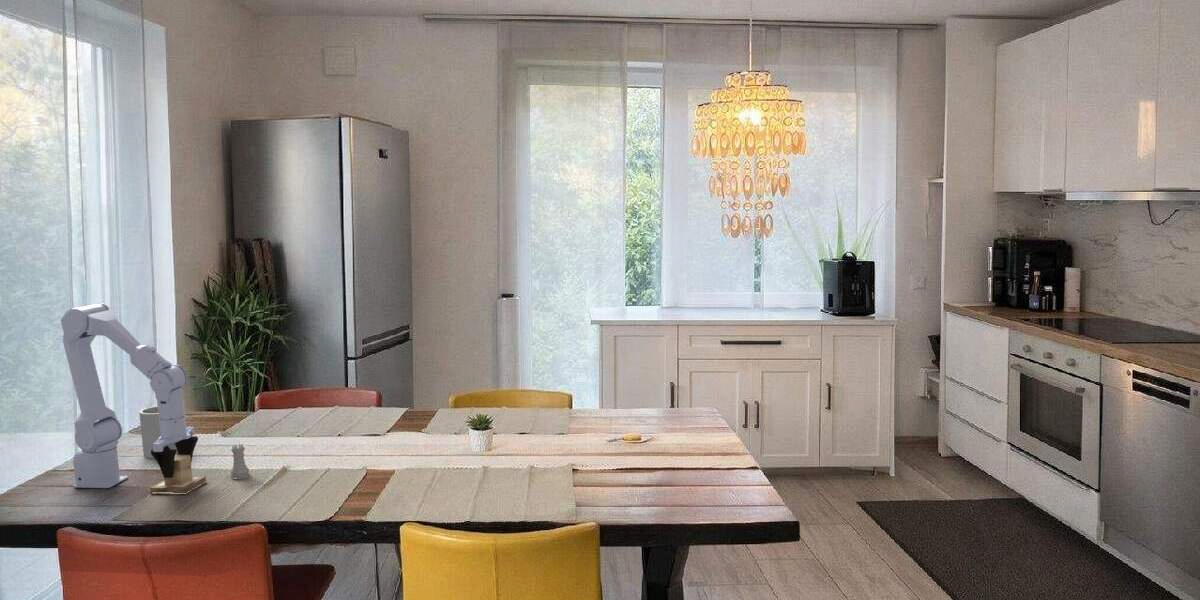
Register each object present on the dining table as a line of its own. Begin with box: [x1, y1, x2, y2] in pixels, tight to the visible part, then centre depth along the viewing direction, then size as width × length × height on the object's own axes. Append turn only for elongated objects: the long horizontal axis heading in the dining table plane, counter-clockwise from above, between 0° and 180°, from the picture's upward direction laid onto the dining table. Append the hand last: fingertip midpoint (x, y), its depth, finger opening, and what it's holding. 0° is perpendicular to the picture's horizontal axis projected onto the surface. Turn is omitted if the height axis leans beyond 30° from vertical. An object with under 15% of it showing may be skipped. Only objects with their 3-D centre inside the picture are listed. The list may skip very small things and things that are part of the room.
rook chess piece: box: [230, 443, 250, 480], centre depth 250 cm, size 4×4×8 cm
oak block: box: [163, 454, 193, 485], centre depth 243 cm, size 4×4×6 cm
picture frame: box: [149, 475, 207, 494], centre depth 243 cm, size 9×9×2 cm
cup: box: [138, 405, 179, 459], centre depth 272 cm, size 9×9×12 cm
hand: (177, 472), depth 243 cm, fingers open, 7 cm apart
